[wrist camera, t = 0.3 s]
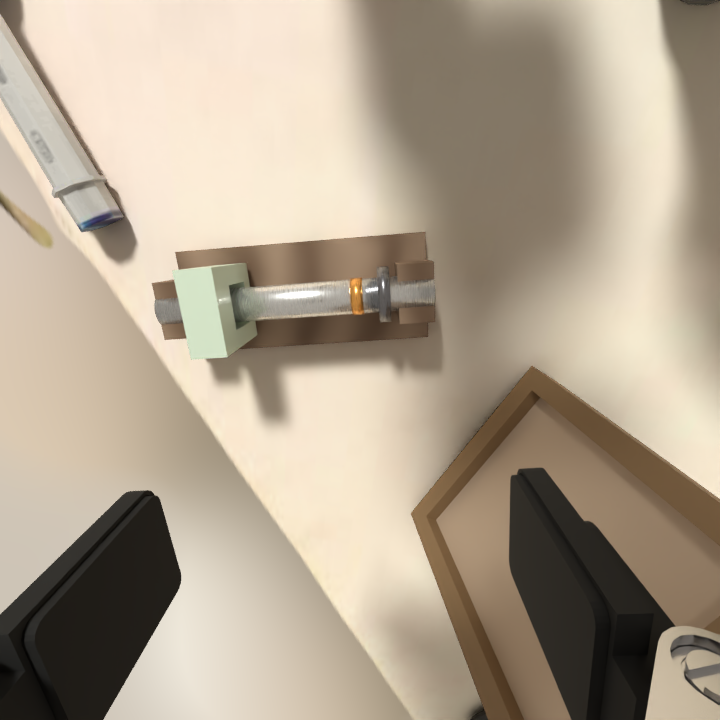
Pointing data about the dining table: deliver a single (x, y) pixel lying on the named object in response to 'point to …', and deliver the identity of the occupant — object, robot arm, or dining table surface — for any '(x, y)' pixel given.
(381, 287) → the steel pipe
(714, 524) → the photo frame
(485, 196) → the dining table surface
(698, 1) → the green statuette
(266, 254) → the walnut base
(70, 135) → the grey handheld flashlight
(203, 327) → the sage collar
